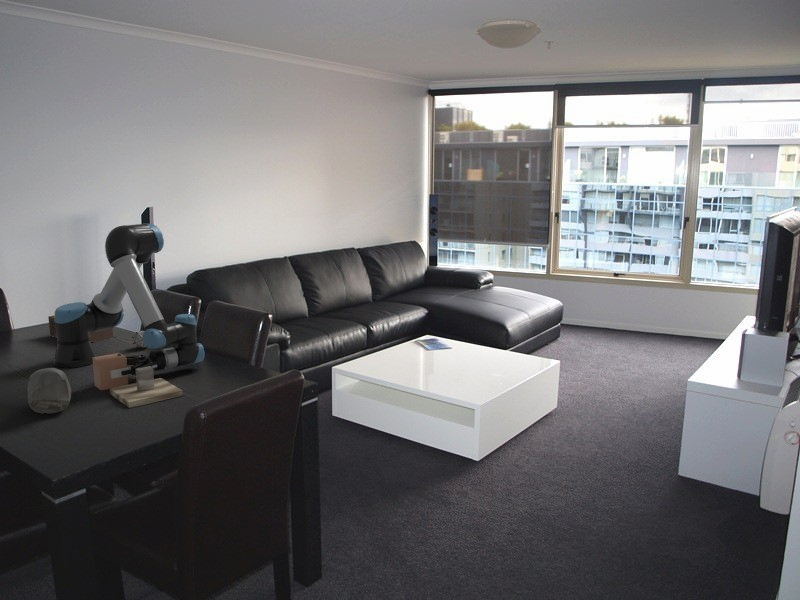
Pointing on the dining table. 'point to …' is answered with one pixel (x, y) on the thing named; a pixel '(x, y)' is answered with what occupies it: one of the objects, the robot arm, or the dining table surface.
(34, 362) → the dining table surface
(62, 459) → the dining table surface
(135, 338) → the game die
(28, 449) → the dining table surface
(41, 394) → the decorative stone
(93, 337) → the tissue box cover
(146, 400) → the base
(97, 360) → the notched tan block
